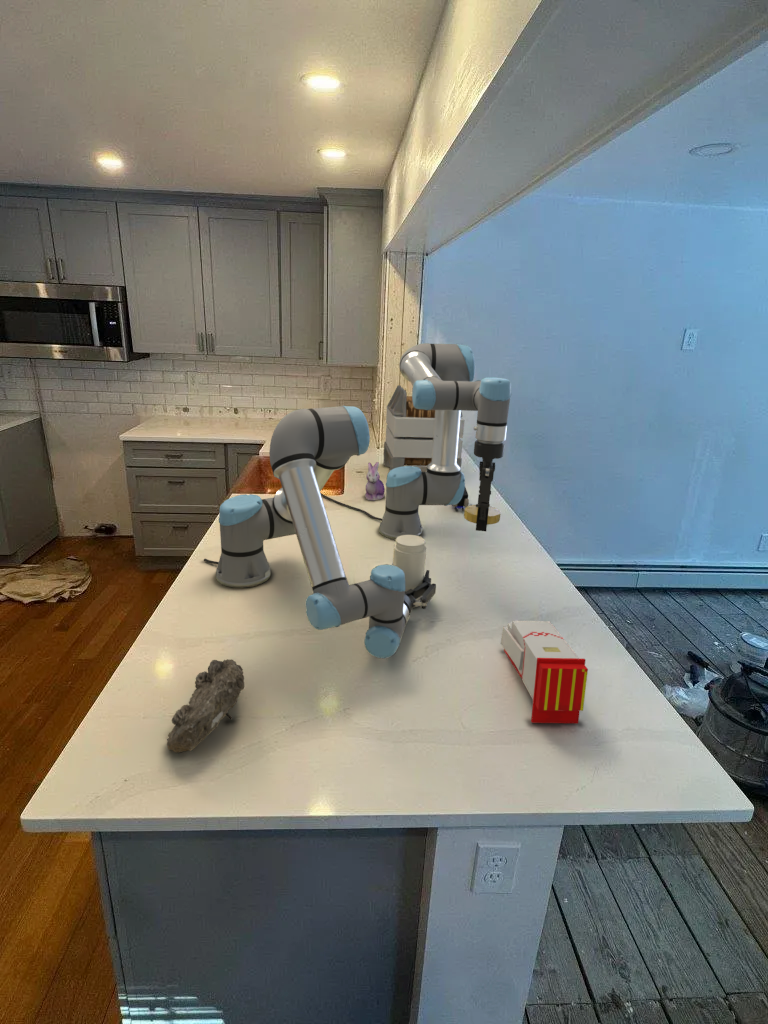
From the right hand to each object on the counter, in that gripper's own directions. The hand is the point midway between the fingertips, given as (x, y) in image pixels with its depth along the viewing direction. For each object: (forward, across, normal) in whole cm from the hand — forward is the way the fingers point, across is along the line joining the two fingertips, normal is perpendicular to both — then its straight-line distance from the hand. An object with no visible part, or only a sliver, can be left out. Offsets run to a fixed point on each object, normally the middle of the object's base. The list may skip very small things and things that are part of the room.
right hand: (481, 523), depth 151 cm
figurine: (+21, -78, -43) cm, 91 cm away
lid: (-3, 0, 0) cm, 3 cm away
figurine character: (+21, -76, -8) cm, 80 cm away
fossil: (+22, +61, -48) cm, 81 cm away
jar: (+22, +6, -18) cm, 29 cm away
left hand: (+16, +2, -18) cm, 24 cm away
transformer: (+21, -122, -29) cm, 127 cm away
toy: (+22, +35, +14) cm, 44 cm away
